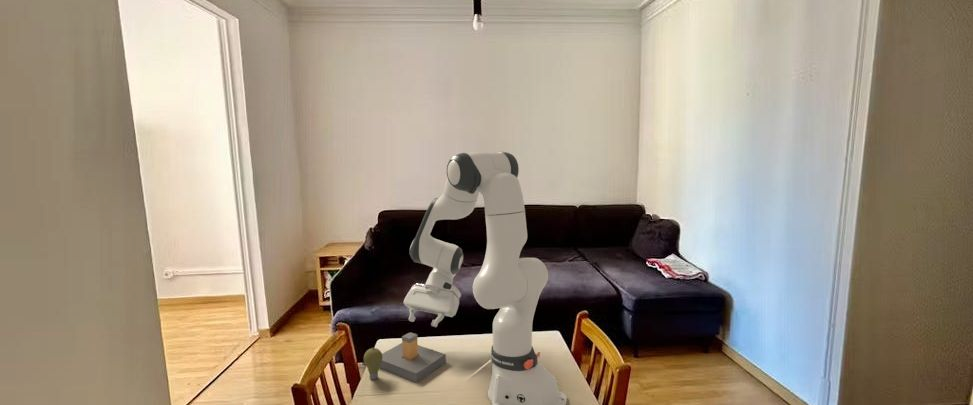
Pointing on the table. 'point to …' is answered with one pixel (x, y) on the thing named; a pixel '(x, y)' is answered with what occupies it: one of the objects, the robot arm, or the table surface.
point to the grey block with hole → (412, 363)
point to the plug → (410, 346)
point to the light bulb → (373, 361)
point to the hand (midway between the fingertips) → (422, 323)
